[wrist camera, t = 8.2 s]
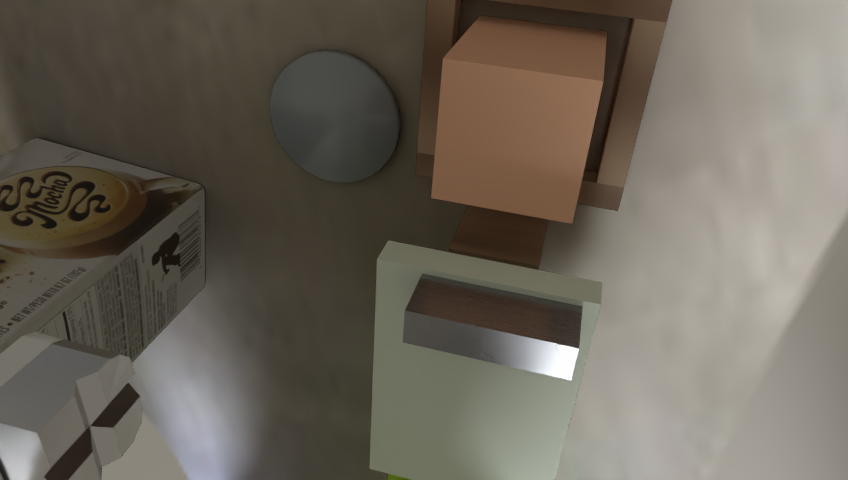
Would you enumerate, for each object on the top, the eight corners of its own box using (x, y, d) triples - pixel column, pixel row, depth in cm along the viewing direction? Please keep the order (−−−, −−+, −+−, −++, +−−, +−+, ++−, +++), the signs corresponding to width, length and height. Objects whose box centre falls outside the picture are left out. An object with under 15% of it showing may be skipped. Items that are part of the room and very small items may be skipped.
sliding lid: (548, 489, 26) (539, 563, 23) (378, 445, 27) (352, 511, 24) (601, 282, 20) (599, 346, 18) (388, 240, 22) (355, 294, 19)
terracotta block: (581, 150, 25) (572, 223, 20) (467, 131, 26) (431, 198, 21) (607, 31, 23) (603, 81, 18) (480, 14, 23) (442, 58, 18)
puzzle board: (570, 385, 31) (561, 486, 26) (408, 348, 32) (370, 437, 27) (672, -16, 21) (688, 23, 16) (437, -43, 23) (386, -14, 18)
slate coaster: (397, 187, 28) (393, 192, 27) (278, 166, 29) (273, 170, 28) (403, 60, 25) (400, 63, 25) (271, 41, 26) (266, 44, 26)
